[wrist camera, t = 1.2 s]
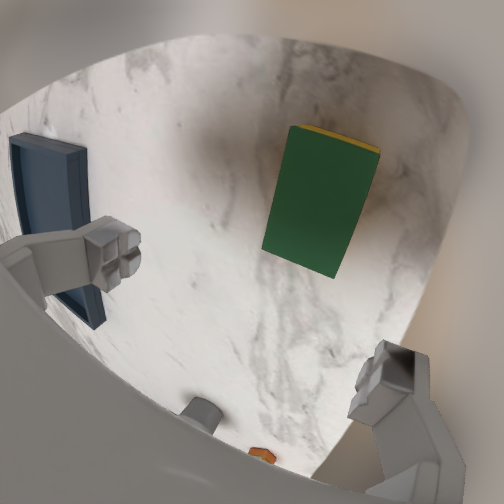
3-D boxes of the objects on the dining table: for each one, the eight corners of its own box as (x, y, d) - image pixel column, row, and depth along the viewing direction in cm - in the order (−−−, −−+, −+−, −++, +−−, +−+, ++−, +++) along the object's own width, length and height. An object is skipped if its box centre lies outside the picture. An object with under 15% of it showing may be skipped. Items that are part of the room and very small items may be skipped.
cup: (198, 417, 38) (154, 476, 28) (177, 388, 36) (125, 450, 26) (238, 427, 34) (193, 495, 25) (219, 397, 32) (165, 473, 23)
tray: (23, 132, 28) (8, 137, 26) (86, 148, 24) (66, 154, 22) (43, 269, 41) (33, 276, 39) (106, 320, 36) (94, 330, 34)
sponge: (305, 123, 15) (289, 126, 13) (380, 149, 14) (380, 156, 12) (279, 229, 19) (260, 249, 17) (342, 255, 18) (333, 279, 16)
